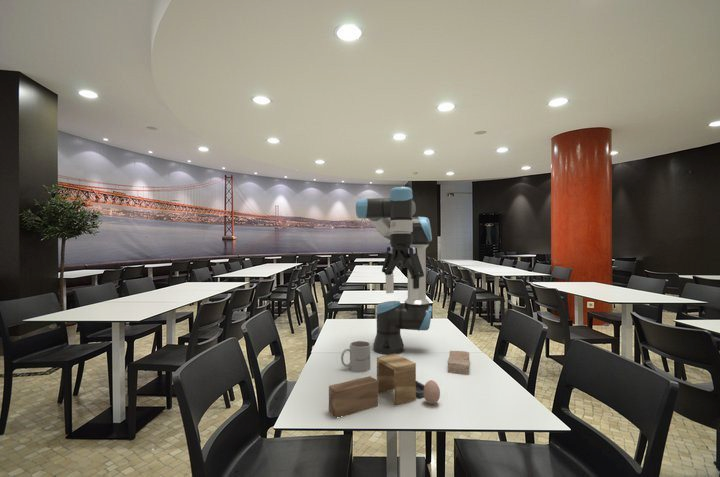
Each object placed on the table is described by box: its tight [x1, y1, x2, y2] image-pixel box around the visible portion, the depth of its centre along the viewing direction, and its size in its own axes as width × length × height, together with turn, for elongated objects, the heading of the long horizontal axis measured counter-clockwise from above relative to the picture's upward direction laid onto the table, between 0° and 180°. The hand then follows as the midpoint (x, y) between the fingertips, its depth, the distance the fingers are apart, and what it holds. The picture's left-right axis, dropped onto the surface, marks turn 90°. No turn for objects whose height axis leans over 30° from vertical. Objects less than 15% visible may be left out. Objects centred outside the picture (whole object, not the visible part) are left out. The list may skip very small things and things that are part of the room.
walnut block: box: [328, 375, 379, 419], centre depth 105 cm, size 5×15×8 cm, turn 121°
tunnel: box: [376, 354, 417, 407], centre depth 113 cm, size 11×8×12 cm
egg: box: [423, 379, 441, 405], centre depth 108 cm, size 5×5×7 cm
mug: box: [340, 340, 371, 373], centre depth 139 cm, size 12×9×10 cm
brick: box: [447, 350, 470, 376], centre depth 140 cm, size 17×8×5 cm, turn 161°
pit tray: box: [416, 380, 425, 400], centre depth 118 cm, size 11×6×2 cm, turn 31°
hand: (401, 295), depth 113 cm, fingers open, 13 cm apart
